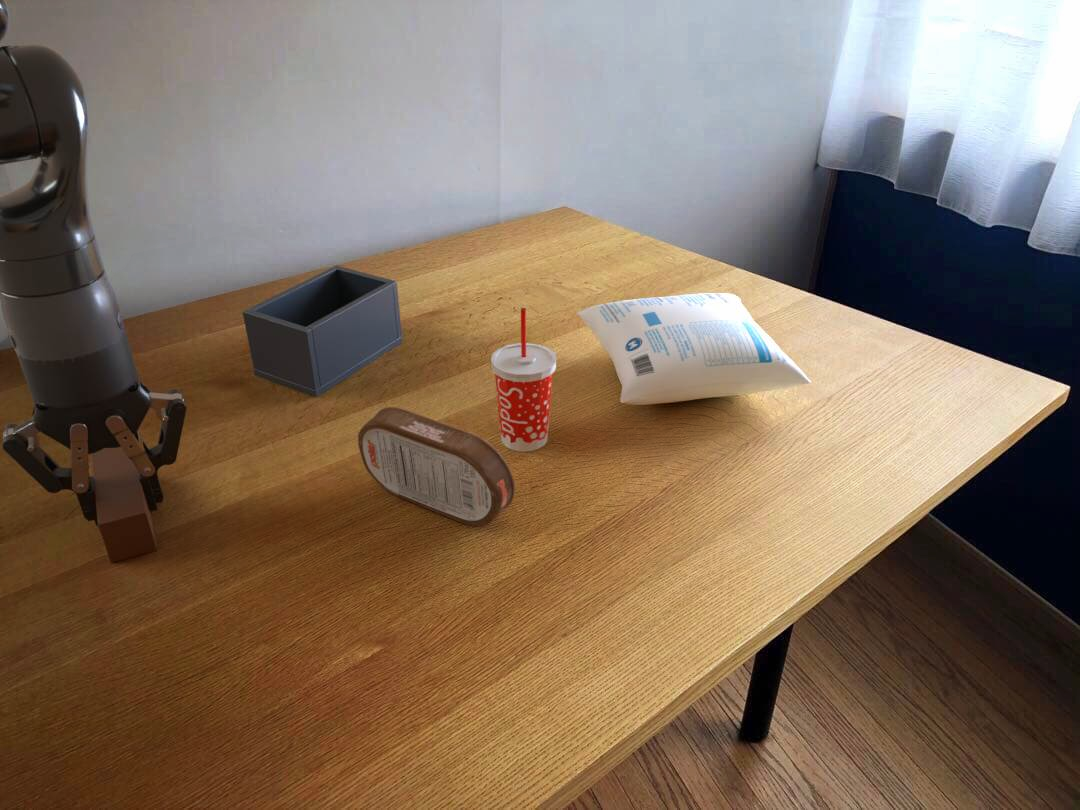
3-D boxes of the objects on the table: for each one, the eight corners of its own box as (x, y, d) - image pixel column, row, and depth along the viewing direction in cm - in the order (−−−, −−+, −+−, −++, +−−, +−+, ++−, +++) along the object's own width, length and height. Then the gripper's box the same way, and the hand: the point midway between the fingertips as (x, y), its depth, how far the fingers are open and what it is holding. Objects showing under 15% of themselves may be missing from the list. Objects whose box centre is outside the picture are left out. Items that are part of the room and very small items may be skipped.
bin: (316, 397, 91) (306, 331, 87) (254, 375, 95) (241, 311, 91) (402, 342, 102) (397, 281, 98) (343, 324, 106) (336, 265, 101)
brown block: (102, 488, 77) (90, 452, 75) (144, 478, 79) (133, 442, 77) (111, 563, 69) (97, 524, 67) (157, 550, 70) (145, 512, 68)
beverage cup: (481, 433, 85) (476, 304, 78) (533, 415, 88) (533, 289, 81) (514, 463, 81) (512, 330, 74) (567, 443, 84) (570, 313, 76)
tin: (517, 523, 74) (516, 442, 69) (497, 544, 71) (495, 461, 67) (380, 469, 80) (371, 392, 76) (357, 487, 78) (347, 408, 73)
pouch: (621, 364, 81) (818, 338, 84) (575, 288, 98) (741, 268, 101) (620, 434, 85) (808, 408, 88) (576, 350, 102) (736, 330, 105)
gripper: (164, 296, 70) (206, 468, 79) (-36, 331, 65) (34, 510, 74) (175, 334, 64) (219, 514, 73) (-43, 376, 59) (34, 564, 68)
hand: (126, 511), depth 74 cm, fingers closed on brown block, 3 cm apart
